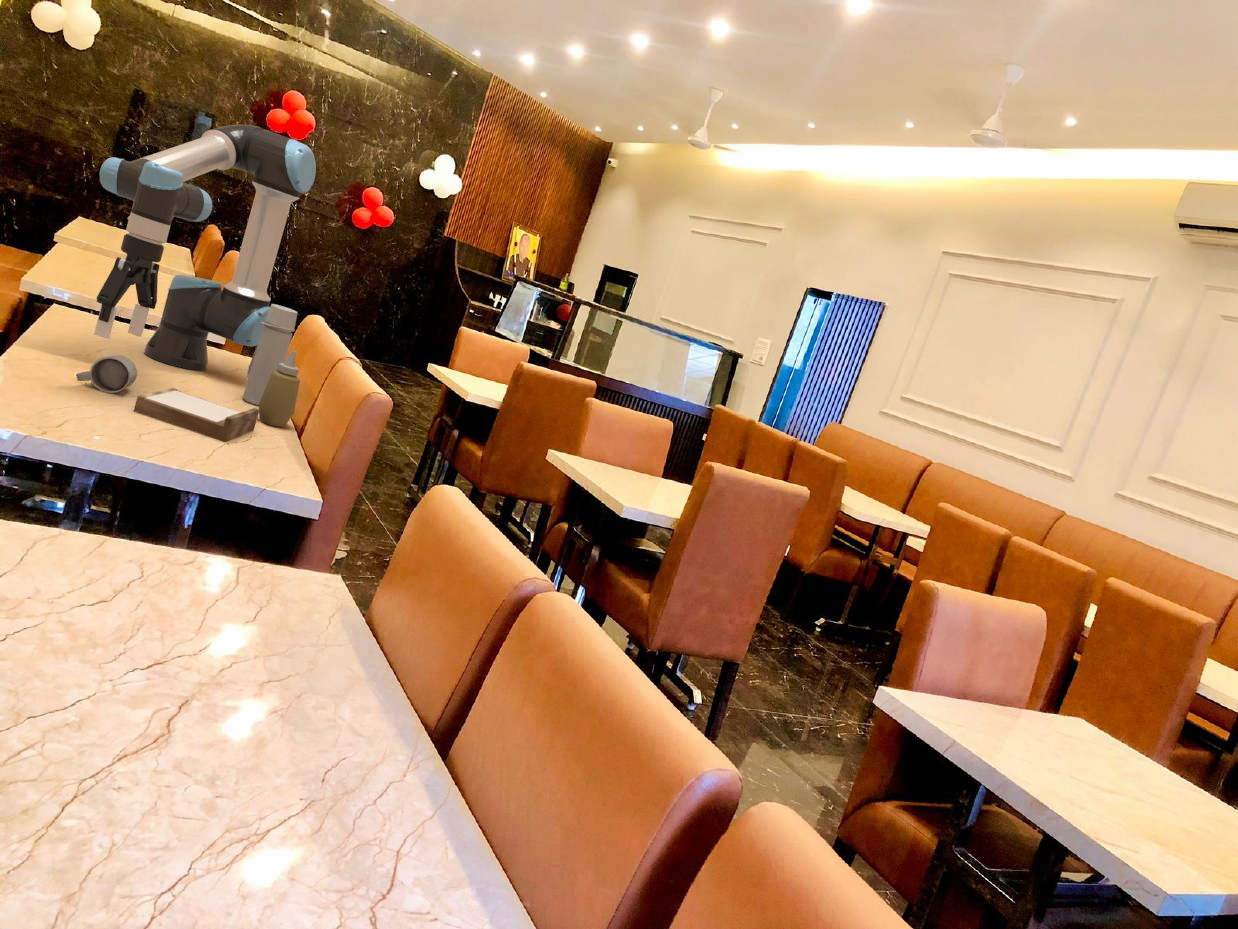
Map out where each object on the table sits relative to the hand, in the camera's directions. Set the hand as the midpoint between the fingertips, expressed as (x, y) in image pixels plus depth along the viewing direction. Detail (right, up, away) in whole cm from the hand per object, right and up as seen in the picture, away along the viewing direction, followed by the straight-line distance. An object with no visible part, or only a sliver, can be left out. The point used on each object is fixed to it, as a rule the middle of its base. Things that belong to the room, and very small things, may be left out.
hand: (118, 335), depth 186 cm
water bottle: (+13, -11, +37) cm, 41 cm away
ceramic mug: (-4, -11, +2) cm, 12 cm away
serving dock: (+15, -18, +2) cm, 24 cm away
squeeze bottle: (+23, -18, +23) cm, 37 cm away
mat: (+15, -15, +2) cm, 21 cm away
